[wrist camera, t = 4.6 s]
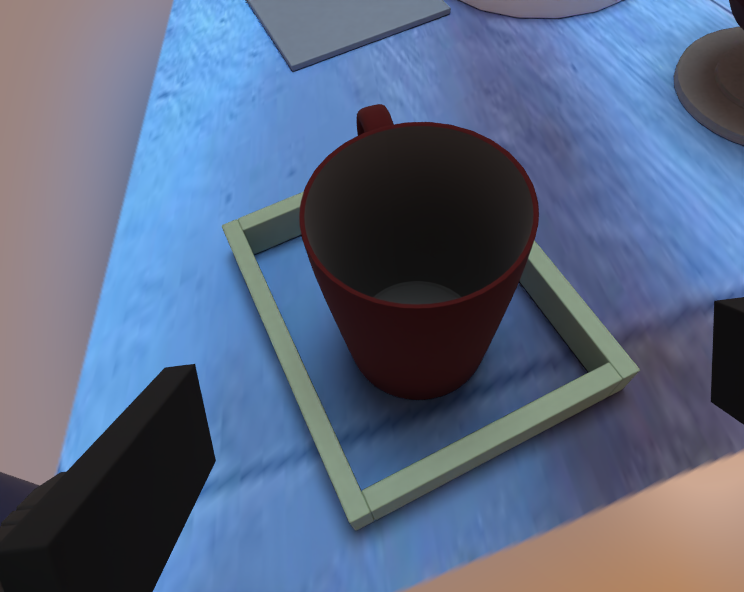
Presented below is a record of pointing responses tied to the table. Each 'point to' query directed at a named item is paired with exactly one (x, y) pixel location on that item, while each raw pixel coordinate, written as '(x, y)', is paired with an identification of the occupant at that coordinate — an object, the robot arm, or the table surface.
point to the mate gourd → (715, 79)
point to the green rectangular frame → (362, 508)
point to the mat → (337, 24)
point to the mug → (418, 248)
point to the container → (540, 7)
